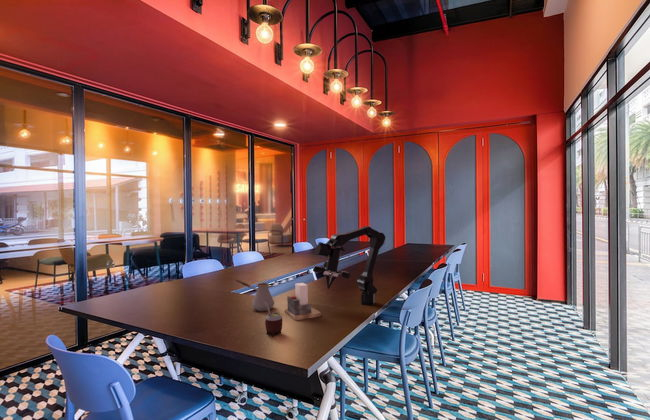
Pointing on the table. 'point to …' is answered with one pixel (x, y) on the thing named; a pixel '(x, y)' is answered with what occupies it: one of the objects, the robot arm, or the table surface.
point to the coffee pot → (261, 296)
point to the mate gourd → (273, 323)
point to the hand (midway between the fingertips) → (328, 288)
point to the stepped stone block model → (300, 309)
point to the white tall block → (301, 293)
